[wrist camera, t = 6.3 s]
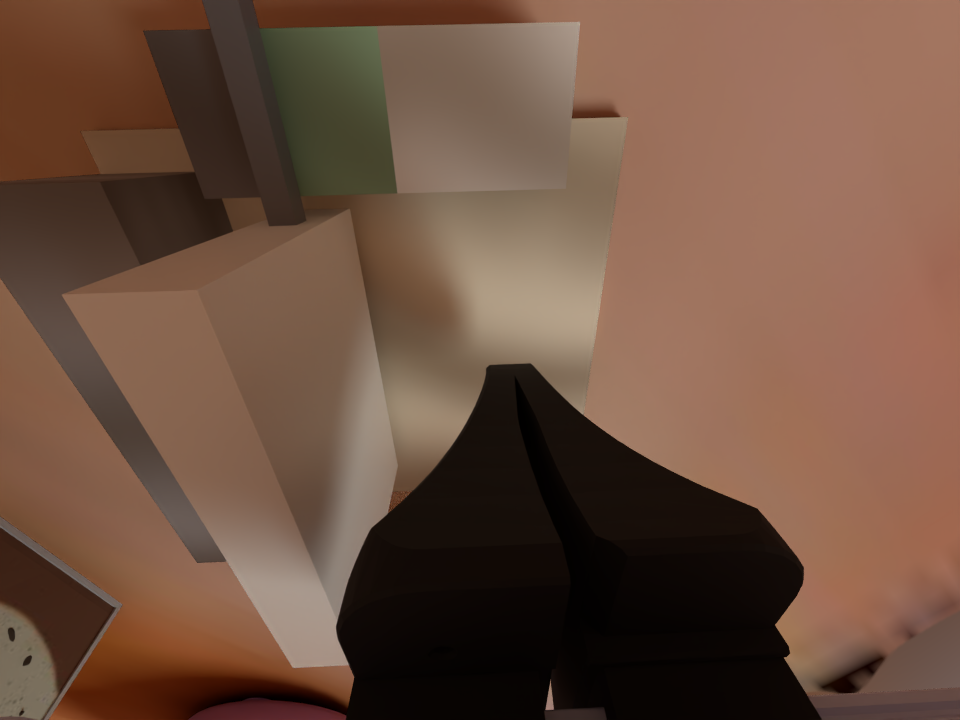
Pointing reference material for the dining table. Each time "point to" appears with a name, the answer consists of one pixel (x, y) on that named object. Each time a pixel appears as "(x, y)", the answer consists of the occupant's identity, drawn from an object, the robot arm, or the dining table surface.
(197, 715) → the teapot
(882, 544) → the dining table surface
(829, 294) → the dining table surface
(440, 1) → the dining table surface
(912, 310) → the dining table surface
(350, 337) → the pad
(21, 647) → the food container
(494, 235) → the frame
